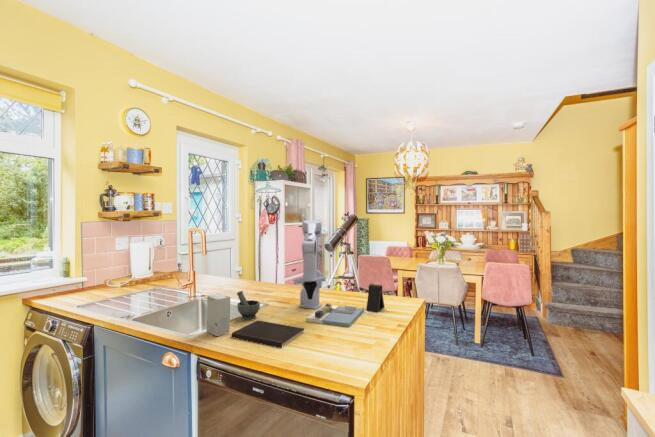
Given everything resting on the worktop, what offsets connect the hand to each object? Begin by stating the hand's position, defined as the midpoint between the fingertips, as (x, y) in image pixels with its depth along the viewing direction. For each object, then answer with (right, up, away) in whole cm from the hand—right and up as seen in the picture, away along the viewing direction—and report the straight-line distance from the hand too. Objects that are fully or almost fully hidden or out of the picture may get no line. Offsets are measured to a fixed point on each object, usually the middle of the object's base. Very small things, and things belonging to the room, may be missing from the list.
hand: (309, 298), depth 141 cm
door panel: (+15, -9, +3) cm, 18 cm away
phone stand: (+31, -9, +16) cm, 36 cm away
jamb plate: (+6, -9, +7) cm, 13 cm away
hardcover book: (-15, -11, -17) cm, 25 cm away
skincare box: (-36, -10, -14) cm, 40 cm away
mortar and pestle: (-29, -10, +3) cm, 30 cm away
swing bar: (+6, -7, +4) cm, 10 cm away
